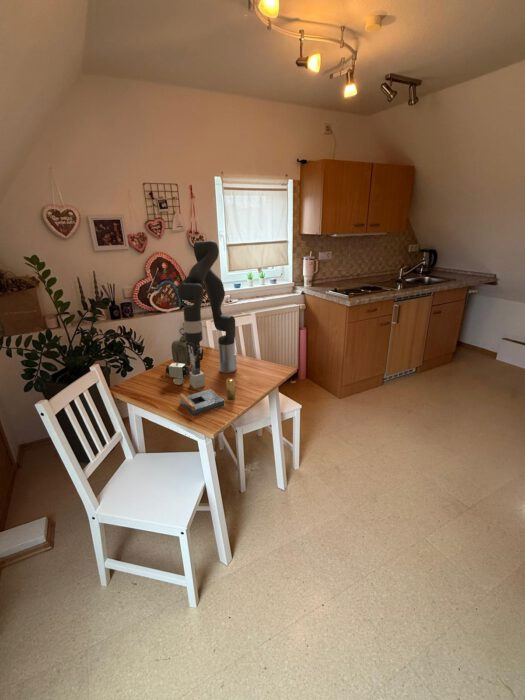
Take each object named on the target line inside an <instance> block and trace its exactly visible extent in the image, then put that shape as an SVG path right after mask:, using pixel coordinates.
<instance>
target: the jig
mask: <svg viewBox="0 0 525 700" xmlns="http://www.w3.org/2000/svg"><path fill="white" fill-rule="evenodd" d="M179 401H180V404H181V405H182V407H184V409H185V410H186V411H187V412H188V414H189V413H190V415H191V416H192V417H196V416H198V415H202V414H204V413H207V412H210V411H213V410H216V409H218V408H222V407H225V399H224V398H222V397H221V396H220V395H219V394H217V392H215V391H214V390H212V389H211V388H209V389H206V390H201V391H198V392H196V393H192V394H189V395H184V393H180V394H179Z"/></svg>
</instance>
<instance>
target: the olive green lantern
mask: <svg viewBox="0 0 525 700" xmlns="http://www.w3.org/2000/svg"><path fill="white" fill-rule="evenodd" d="M181 330H183V331H184V328H183V327H181V328H179V331H178V332H179V334H180V335H182V336H180V339H176V340H173V341H172V343H171V355H172V359H173V363H182V364H187V366H188V367H189V366H190V367H191V359H190V356H189V355H188V352H187V347H186V341H185V332H183V333H182V332H181Z"/></svg>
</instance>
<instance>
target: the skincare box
mask: <svg viewBox="0 0 525 700" xmlns="http://www.w3.org/2000/svg"><path fill="white" fill-rule="evenodd" d="M205 379H206V378H205V373H204V372H203V371H202V370H200V374H198V375H192V374H191V371H190V372H189V383H190V386H192V388H193V389H199V388H202V387H205V386H206V381H205Z"/></svg>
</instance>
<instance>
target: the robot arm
mask: <svg viewBox="0 0 525 700" xmlns="http://www.w3.org/2000/svg"><path fill="white" fill-rule="evenodd" d="M193 253H194V257H195V260H196V263H195V264H194V265H193V266H192V268H191V269H190V271H189V272H188V273H189V274H188V276H187V277H186V278H185V279H184V280H182V281H181V283H180V284H179V285H178V288H177V296H178V298H179V299H180V300H182V301H193V304H191V305H190V304H189V305H186V306H184V307H183V319H184V320H183V321H184V322H183V327H184V330H183V331H184V333H185V341H186V347H187V352H188V355H189V356H190V352H192V354H193V356H194V359H195V368H196V369H198V368H200V369H201V361H203V359H204V348H201V344H200V342H201V341H203V339H204V337H203V324H202V318H201V317H202V315H201V308H202V303H203V298H204V295H205V294H204V293H205V291H206V295H207V297H208V300H209V305H210V309H211V314H212V319H213V325H214V327H215V329H216V330H217V331H220V332H225V334H224V335H222V336H219V337H218V340H217V341H218V361H219V372H221V373H223V374H229V373H233V372H235V371H236V370H237V369H238V368H237V367H238V366H237V354H236V348H235V346H236V343H235V338H236V319H235V317H234V316H233V315H228V314H223V313H222V305H223V303H224V300H225V297H226V291H225V288H224V284H223V281H222V280H221V278H220V277H219V276H218V275H216V273H215V272H214V271H213V270H212V269H211V268H212V267H213V265H214V264H215V263H216V261H218V258H219V253H220V251H219V245H218V243H217V242H216V241H214V240H204V241H203V240H200V241H196V242H194V243H193ZM203 284H204V286H205V287H203ZM204 288H205V289H204ZM195 353H197V354H195ZM196 356H197V357H196Z"/></svg>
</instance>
